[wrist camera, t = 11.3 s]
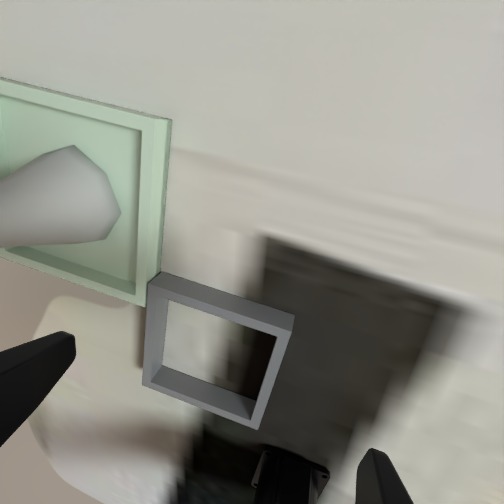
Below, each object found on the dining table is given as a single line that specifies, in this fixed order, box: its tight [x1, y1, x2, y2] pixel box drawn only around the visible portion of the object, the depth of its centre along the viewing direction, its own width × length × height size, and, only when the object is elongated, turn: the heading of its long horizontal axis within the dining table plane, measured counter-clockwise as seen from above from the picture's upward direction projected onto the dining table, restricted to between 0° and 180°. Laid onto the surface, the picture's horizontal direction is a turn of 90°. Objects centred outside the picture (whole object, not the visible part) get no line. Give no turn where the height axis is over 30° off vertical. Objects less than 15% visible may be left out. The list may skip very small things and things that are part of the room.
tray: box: [0, 77, 172, 307], centre depth 22 cm, size 14×14×2 cm
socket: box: [142, 272, 295, 430], centre depth 24 cm, size 11×11×2 cm
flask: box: [0, 145, 122, 248], centre depth 18 cm, size 7×7×10 cm
